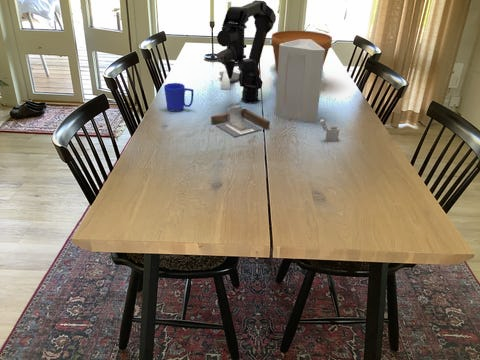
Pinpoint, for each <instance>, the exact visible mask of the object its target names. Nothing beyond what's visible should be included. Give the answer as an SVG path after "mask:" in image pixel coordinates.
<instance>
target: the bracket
mask: <svg viewBox="0 0 480 360" xmlns="http://www.w3.org/2000/svg"><path fill="white" fill-rule="evenodd" d="M241 109H242V106H241V105H239V104H235V105H233V106H227V112H226V113H227V122H226V123H227V125H229V126H230V127H232V128H234V129H235V130H237V131H239V132H240V133H242V132H246V131H250V130H252V126H251V125H249V124H247V123H245V122H243V121H242V120H241V119H242V118H241Z"/></svg>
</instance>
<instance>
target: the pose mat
mask: <svg viewBox="0 0 480 360" xmlns="http://www.w3.org/2000/svg"><path fill="white" fill-rule="evenodd" d="M241 120H242V121H243V122H245V123H247V124H249V125H251V126H252V130H250V131H246V132H242V133H240V132H239V131H237V130H235V129H234V128H232V127H230V126H229V125H227V122H223V123H219V124H215V125H216V127H217V128H218V129H220V130H222V131H223V132H225V133H227V134H228V135H230V136H231V137H233V138H237V137H242V136H245V135H248V134H253V133H257V132H261V131H263V129H262V127H260V126H259V127H258V125H256V124H254V123H251V122H250V121H249V120H247V119H245V118H241Z"/></svg>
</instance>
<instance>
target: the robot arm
mask: <svg viewBox="0 0 480 360" xmlns="http://www.w3.org/2000/svg"><path fill="white" fill-rule="evenodd" d="M251 17H253V19H254V27H255V34H254V38H253V41H252V45H251V48H250V52H249V56H248V58H247V55H245V48H247V45H246V43H245V29H247V27H248V26H247V25H246V24H247V22H248V21H249V18H251ZM276 19H277V16H276V14H275V12H274V9H273V8H271V7H270V6H269V5H268V4H267V2H266V1H264V0H253V1H252V2H250V3H246V4H245V5H243V6H229V8H228V9H227V10H226V13H225V16H224V19H223V23H222V27H221V30H220V31H218V33H217V36H216V41H217V43H218V44H219V45H220V46H221V47H224V48H225V47H226V48H225V49H223V50H221V51H219V52H217V53H216V54H215V57H216V59H217V62H218V63H219V64H220V63H221V64H222V65H223V66H224V68H225V71H227V74H228V78H229V79H231V78H232V74H233V71H235V70H234V69H235V64H236V63H237V67H238V68H237V70H238V71H240V74H239V79H238V81H239V86H240V88H241V87H242V91H241V93H242V94H241V95H242V96H241V98H240V100H241V101H243V102H245V103H247V104H252V103H257V102H260V101H261V99H260V98H259V90H261V89H262V87H263V81H262V79H261V77H260V75H261V72H260V69H259V64H260V62H261V58H262V54H263V49H264V46H265V43H266V40H267V39H266V38H267V35H268V33H269V32H270V31H271V30H273V27H274V24H275V23H276Z"/></svg>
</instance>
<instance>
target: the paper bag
mask: <svg viewBox="0 0 480 360" xmlns="http://www.w3.org/2000/svg"><path fill="white" fill-rule="evenodd" d="M324 54H325V49H324V48H322V47H321V46H320V45H318V44H317V43H315V42H314V41H313V40H311V39H299V40H294V41H290V42H285V43H281V44H279V59H278V75H277V74H276V75H277V77H276V78H277V79H276V94H275V107H274V110H275V111H274V115H275V116H276V117H278V118H284V119H288V120H293V121H297V122H302V123H317V122H318V114H319V103H320V95H321V86H322V81H323V79H322V78H323V70H324V65H323V63H324V64H325V62H324Z"/></svg>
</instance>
